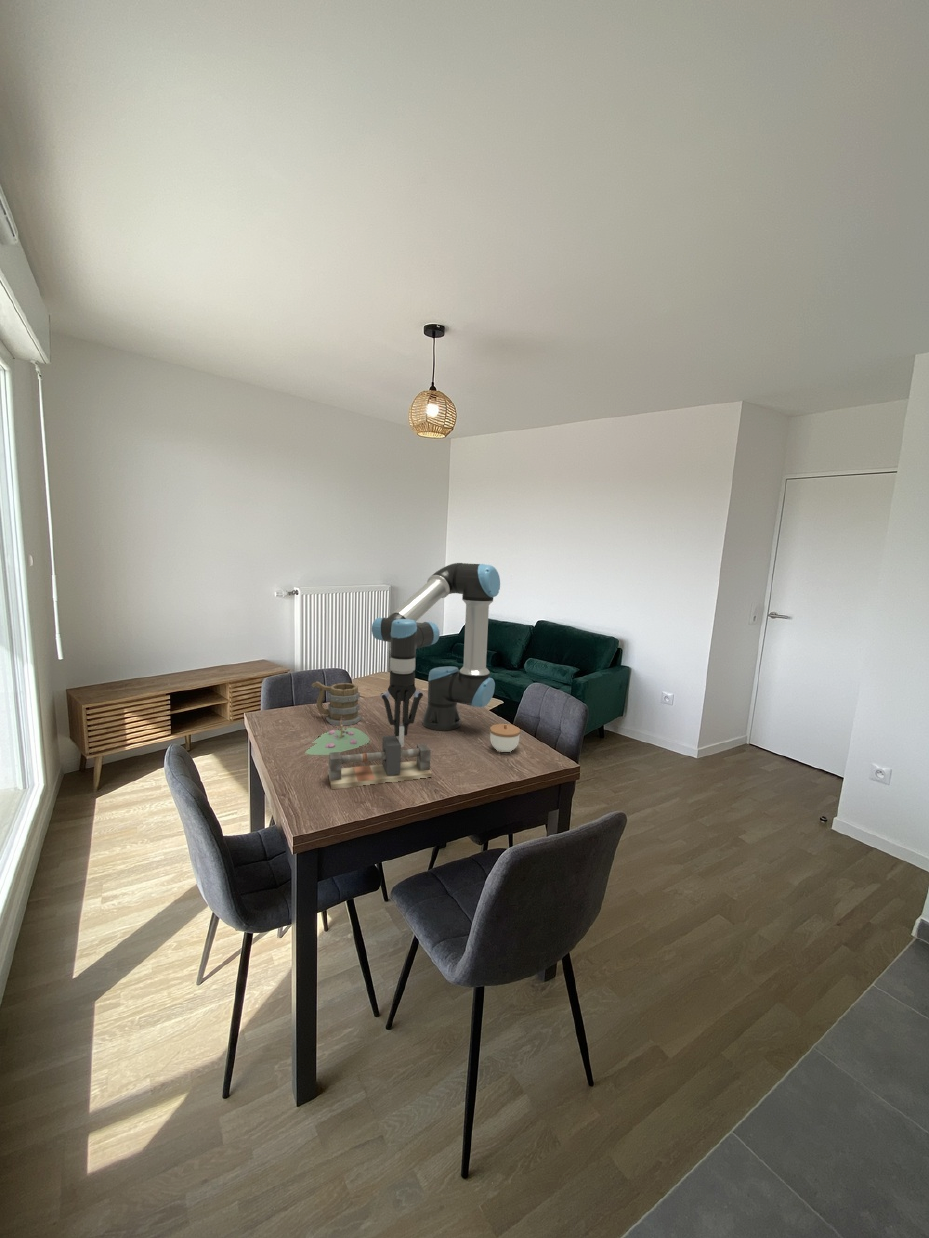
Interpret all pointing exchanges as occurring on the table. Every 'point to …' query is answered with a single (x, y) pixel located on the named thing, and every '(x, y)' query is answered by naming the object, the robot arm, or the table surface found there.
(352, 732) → the plant
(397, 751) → the collar
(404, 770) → the grey sliding block rail
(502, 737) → the lidded jar
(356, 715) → the tankard
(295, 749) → the table surface
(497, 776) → the table surface
